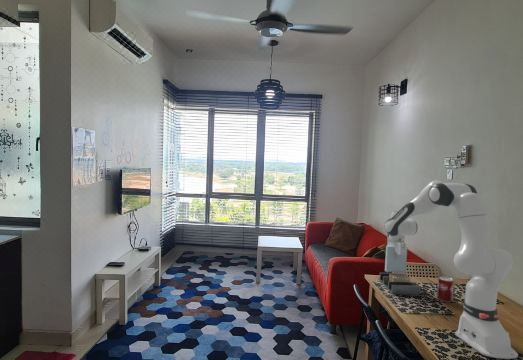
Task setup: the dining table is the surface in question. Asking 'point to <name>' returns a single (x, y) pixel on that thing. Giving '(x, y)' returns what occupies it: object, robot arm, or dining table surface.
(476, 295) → the robot arm
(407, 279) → the offcut front
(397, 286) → the rack
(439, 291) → the soda can
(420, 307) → the dining table surface
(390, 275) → the offcut back
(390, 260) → the acrylic sheet
